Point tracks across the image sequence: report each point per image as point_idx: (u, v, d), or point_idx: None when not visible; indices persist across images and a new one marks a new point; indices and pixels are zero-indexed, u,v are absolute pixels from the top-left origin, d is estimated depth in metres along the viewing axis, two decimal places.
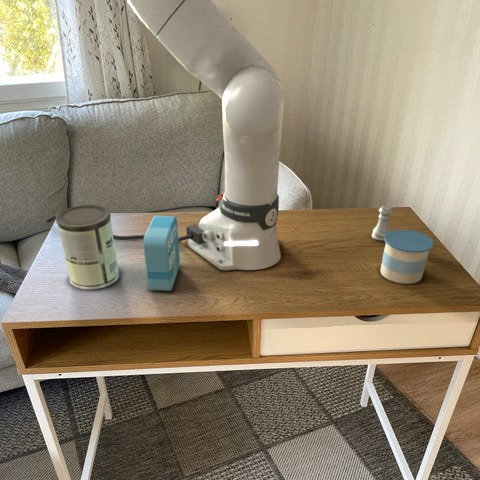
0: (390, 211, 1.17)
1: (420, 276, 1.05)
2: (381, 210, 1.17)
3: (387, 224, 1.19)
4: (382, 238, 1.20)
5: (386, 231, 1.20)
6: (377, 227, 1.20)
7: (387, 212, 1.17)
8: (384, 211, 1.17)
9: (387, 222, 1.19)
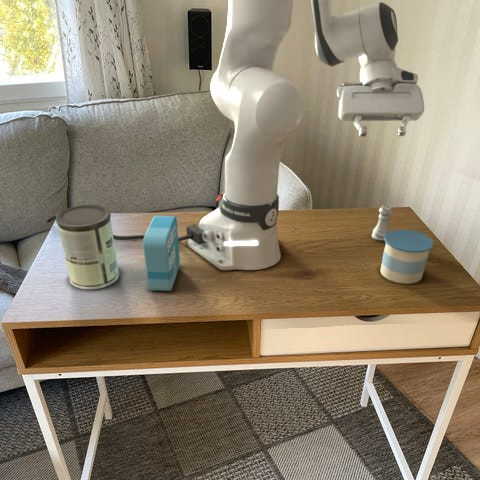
0: (390, 211, 1.17)
1: (420, 276, 1.05)
2: (381, 210, 1.17)
3: (387, 224, 1.19)
4: (382, 238, 1.20)
5: (386, 231, 1.20)
6: (377, 227, 1.20)
7: (387, 212, 1.17)
8: (384, 211, 1.17)
9: (387, 222, 1.19)
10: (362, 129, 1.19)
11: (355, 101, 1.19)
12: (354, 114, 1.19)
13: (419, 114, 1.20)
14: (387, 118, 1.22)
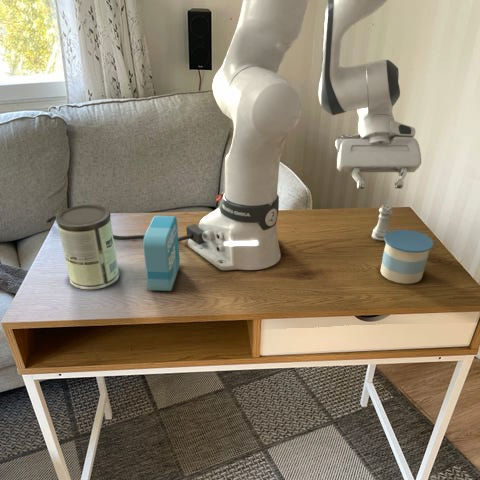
0: (390, 211, 1.17)
1: (420, 276, 1.05)
2: (381, 210, 1.17)
3: (387, 224, 1.19)
4: (382, 238, 1.20)
5: (386, 231, 1.20)
6: (377, 227, 1.20)
7: (387, 212, 1.17)
8: (384, 211, 1.17)
9: (387, 222, 1.19)
10: (360, 182, 1.21)
11: (353, 154, 1.21)
12: (352, 167, 1.21)
13: (416, 167, 1.22)
14: (385, 170, 1.24)
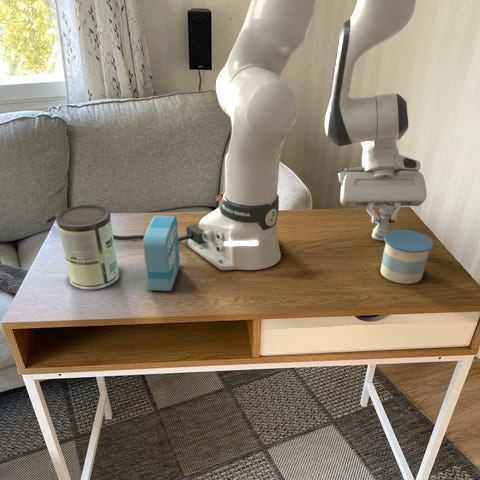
0: (390, 211, 1.17)
1: (420, 276, 1.05)
2: (381, 210, 1.17)
3: (387, 224, 1.19)
4: (382, 238, 1.20)
5: (386, 231, 1.20)
6: (377, 227, 1.20)
7: (387, 212, 1.17)
8: (384, 211, 1.17)
9: (387, 222, 1.19)
10: (375, 216, 1.18)
11: (357, 188, 1.18)
12: (356, 201, 1.18)
13: (421, 201, 1.19)
14: (389, 204, 1.21)
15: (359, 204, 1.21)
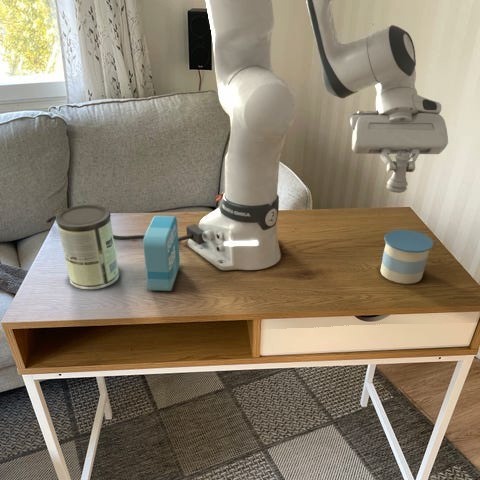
0: (408, 157, 1.05)
1: (420, 276, 1.05)
2: (398, 156, 1.06)
3: (404, 173, 1.07)
4: (398, 189, 1.08)
5: (403, 181, 1.08)
6: (393, 177, 1.08)
7: (404, 158, 1.05)
8: (401, 157, 1.05)
9: (404, 171, 1.07)
10: (391, 164, 1.07)
11: (371, 133, 1.07)
12: (370, 147, 1.07)
13: (442, 148, 1.07)
14: (406, 151, 1.09)
15: (373, 151, 1.09)
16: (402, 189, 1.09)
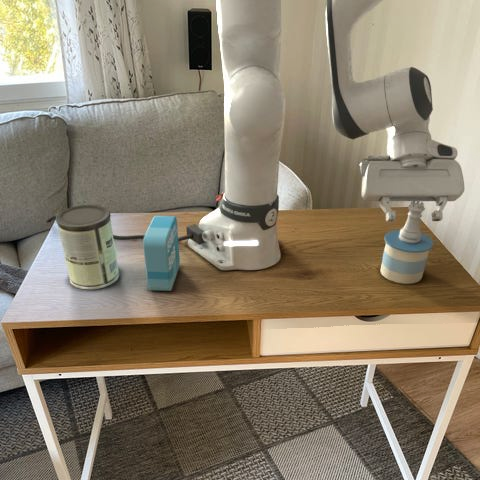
0: (422, 208, 0.99)
1: (420, 276, 1.05)
2: (411, 207, 0.99)
3: (418, 224, 1.01)
4: (411, 240, 1.02)
5: (416, 232, 1.01)
6: (406, 227, 1.02)
7: (418, 209, 0.98)
8: (415, 208, 0.99)
9: (418, 221, 1.01)
10: (390, 213, 1.00)
11: (382, 180, 1.00)
12: (381, 195, 1.00)
13: (458, 196, 1.01)
14: (419, 198, 1.03)
15: None
16: (415, 240, 1.02)
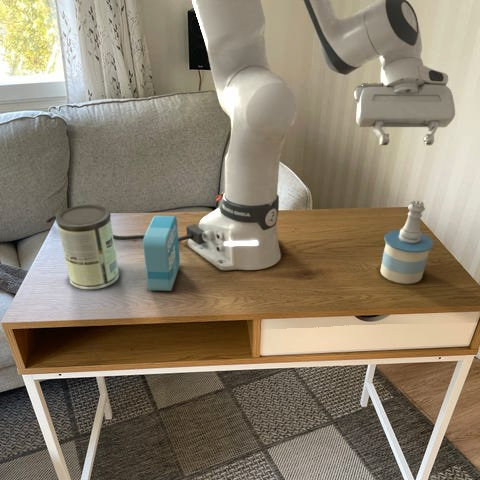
0: (422, 208, 0.99)
1: (420, 276, 1.05)
2: (411, 207, 0.99)
3: (418, 224, 1.01)
4: (411, 240, 1.02)
5: (416, 232, 1.01)
6: (406, 227, 1.02)
7: (418, 209, 0.98)
8: (415, 208, 0.99)
9: (418, 221, 1.01)
10: (384, 137, 1.04)
11: (375, 105, 1.04)
12: (375, 119, 1.04)
13: (449, 120, 1.05)
14: (412, 124, 1.07)
15: None
16: (415, 240, 1.02)
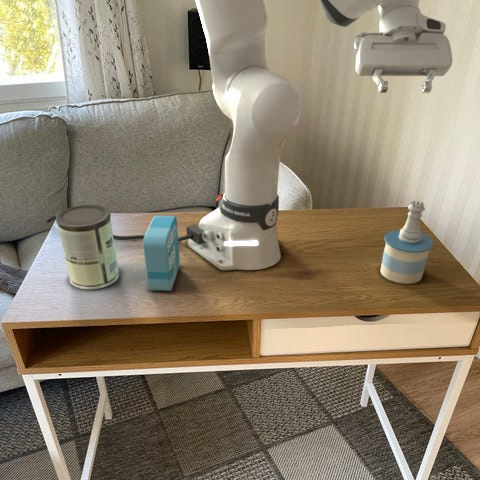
0: (422, 208, 0.99)
1: (420, 276, 1.05)
2: (411, 207, 0.99)
3: (418, 224, 1.01)
4: (411, 240, 1.02)
5: (416, 232, 1.01)
6: (406, 227, 1.02)
7: (418, 209, 0.98)
8: (415, 208, 0.99)
9: (418, 221, 1.01)
10: (383, 84, 1.06)
11: (374, 53, 1.06)
12: (374, 67, 1.06)
13: (446, 68, 1.07)
14: (410, 73, 1.09)
15: None
16: (415, 240, 1.02)
